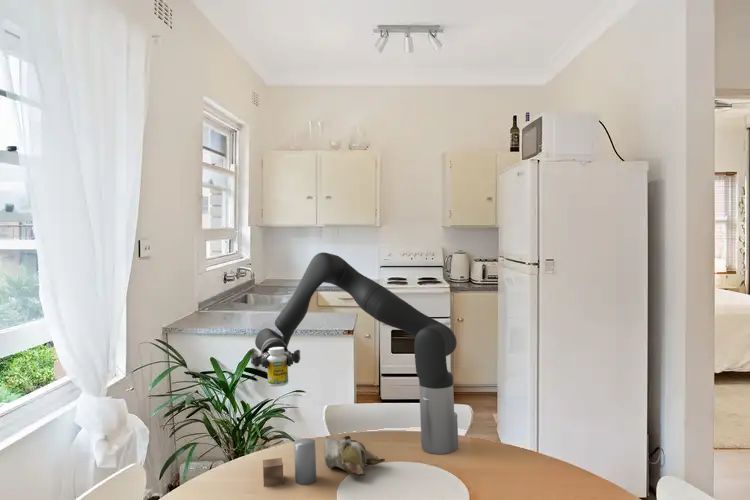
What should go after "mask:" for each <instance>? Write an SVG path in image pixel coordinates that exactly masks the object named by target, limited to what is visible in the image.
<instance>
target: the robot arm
mask: <svg viewBox="0 0 750 500" xmlns="http://www.w3.org/2000/svg"><path fill="white" fill-rule="evenodd" d="M323 283H325V284H326V283H327V284H331V285H334V286H335V287H338V288H339V289H342V290H343V291H345V292H346V293H347V294H349V295H350V296H351V297H352V299H353V300H354V301H355V304H357V305H358V307H359V308H361V310H363V311H364V312H365V313H367V315H369V316H370V317H372V318H373V319H375V320H376V321H378V322H380V323H382V324H384V325H387V326H389V327H392V328H395V329H399V330H400V331H403V332H406V333H407V334H410V335H411V336H413V337H414V344H413V345H414V349H413V350H414V361H415V362H414V363H415V371H416V372H415V373H416V376H417V378H418V382H419V383H418V384H419V411H420V412H419V414H420V418H419V419H420V437H421V438H420V441H421V442H420V443H421V444H420V445H421V450H423V451H424V452H427V453H428V454H435V455H443V454H449V453H452V452H454V451H455V450H459V431H458V429H459V427H458V426H459V425H458V414H457V412H455V402H454V401H455V400H454V399H455V398H454V378H453V377H454V375H453V373H452V372H450V371H449V370H448V366H447V357H448V356H450V355H451V354H453V352H454V351H455V350H456V348H457V345H458V344H457V337H456V334H455V332H454V331H453V330H452V329H451V328H450V327H449V326H447V325H445V324H443V323H442V322H440V321H438V320H436V319H434V318H433V317H430V316H429V315H427V314H425V313H422V312H421V311H420V310H418V309H417V308H415V307H413V306H412V305H411V304H409V303H408V302H406V301H405V300H404V299H402V298H400V297H399V296H398V295H396V293H394V292H392V291H390V290H389V289H388V288H387V287H385V286H383V285H381V284H379V283H378V282H376V281H375V280H373V279H371V278H369V277H367V276H366V275H363V274H362V273H360V272H359V271H358V270H357V269H355V268H354V267H353V266H352V265H350V264H349V263H348V262H347V261H346V260H345V259H343V257H341V256H339V255H336V254H333V253H329V252H318V253H317V254H315V255H314V256H313V258H312V259H311V261H310V262H309V264H308V265H307V267H306V269H305V272H304V273H303V276H302V278H301V279H300V281H299V283H298V285H297V287H296V289H295V291H294V292H293V294H292V296H291V297H290V299H289V301H288V302H287V304H286V305H285V306H284V308H283V309H282V310H281V311H280V313H279V314H278V315H277V317H276V318H275V321H274V326H275V327H276V328H277V330H278V331H279V332H280V333H281V334H282V335H281V334H278V333H277V332H276V331H274V330H273V329H271V328H268V327H266V328H263V329H261V330H259V332H257V335H256V337H255V340H254V343H255V347H256V348H257V349H258V350H259V351H260V352H261V353H260V354H259V355H258V354H257V353H251V354H250V363H251V364H252V366H254V367H256V368H257V367H260V365H261V367H262V368H264V369H267V368H268V364H267V358H268V357H269V356H270V354H269V349H270V348H273V347H284V351H285V352H284V355H286V356H287V361H288V368H289V367H291V366H292V365H294V364H299V363H300V361H301V350H300V349H296V350H294V351H293V352H291V351H290V350H289V349H288V346H289V343H290V340H291V339H292V336H293V334H294V332H295V331H296V329H297V328H298V326H300V324H301V323H302V321H303V320H304V318H305V317H306V315H307V313H308V310H309V307H310V302H311V299H312V297H313V295H314V294H315V292H316V291H317V290H318V288H319V287H320V286H321V285H322V284H323Z"/></svg>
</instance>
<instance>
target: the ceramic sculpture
mask: <svg viewBox="0 0 750 500" xmlns="http://www.w3.org/2000/svg"><path fill="white" fill-rule="evenodd" d="M323 444H324V445H323V446H324V462H325V465H326V467H327V468H329V469H333V468H335V467H336V468H339V469H342V470H344V471H346V473H347V474H348V475H349V476H350V477H354V478H356V477H357V478H358V477H365V476H366V474H365V471H364V469H363V468H364V467H365V465H366V466H375V465H379V464H381V463H383V462H385V461H386V460H385V458H380V457H378V456H376V455H375V454H374V453H373V452H370V451H369V450H367V449H366V447H365V445H364V444H363V443H362V442H361V441H359V440H356V439H355V440H353V439H352V438H351V436H350V435H345V436H343V437H341V438H340V439H337V438H334V437H329V436H326V435H325V437H324V443H323Z"/></svg>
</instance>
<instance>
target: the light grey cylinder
mask: <svg viewBox="0 0 750 500" xmlns="http://www.w3.org/2000/svg"><path fill="white" fill-rule="evenodd" d="M293 446H294V447H293V451H294V481H295V484H297V485H302V486H307V485H311V484H313V483H315V482H316V481H317V460H316V459H317V455H316V452H317V450H316V440H315V439H314V438H309V437H304V438H299V439H296V440H295V441H294V442H293Z"/></svg>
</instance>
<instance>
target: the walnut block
mask: <svg viewBox="0 0 750 500" xmlns="http://www.w3.org/2000/svg"><path fill="white" fill-rule="evenodd" d="M262 478H263V487H270V486H277V485H278V486H279V485H283V484H284V462H283V458H282V457H277V458H269V459H262Z"/></svg>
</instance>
